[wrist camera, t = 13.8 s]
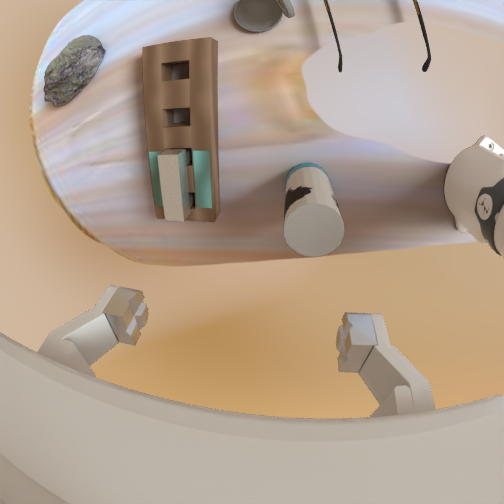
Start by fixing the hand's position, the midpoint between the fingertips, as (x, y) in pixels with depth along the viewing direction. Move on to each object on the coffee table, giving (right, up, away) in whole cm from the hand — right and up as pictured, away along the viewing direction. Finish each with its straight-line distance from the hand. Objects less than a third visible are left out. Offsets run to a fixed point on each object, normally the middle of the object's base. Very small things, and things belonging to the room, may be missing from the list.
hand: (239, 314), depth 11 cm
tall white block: (-10, +15, +33) cm, 37 cm away
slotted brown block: (-10, +21, +29) cm, 37 cm away
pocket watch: (+3, +36, +17) cm, 40 cm away
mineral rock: (-30, +35, +23) cm, 51 cm away
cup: (+9, +13, +32) cm, 35 cm away
